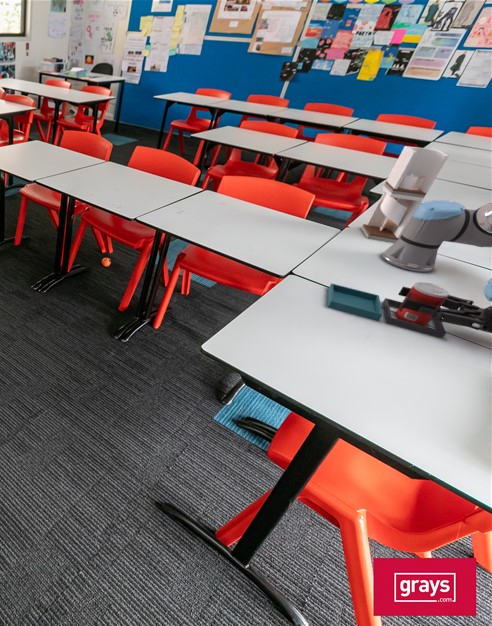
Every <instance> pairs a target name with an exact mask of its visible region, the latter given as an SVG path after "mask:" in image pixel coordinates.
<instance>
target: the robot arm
mask: <svg viewBox="0 0 492 626" xmlns="http://www.w3.org/2000/svg"><path fill="white" fill-rule="evenodd" d="M444 242H447V243H454V244H462V245H468V246H474V247H478V248H492V202H489V203H486V204H484V205H482V206H480V207H478V208H476V209H468V208H466V207H465V205H463V204H462V203H460V202H456V201H450V200H439V199H437V200H435V199H433V200H426V201H424V202H421V204H420V205H419V207H418V208H417V210H416V211H415V212H414V213H413V216H412V218H411V219H410V221H409V223H408V225H407V226H406V228H405V230H404V231H403V233H402V235H401V237H400V238H399V239H398V240H397V241H396V242H393V244H392V245H390V246H389V247H388V248H387V249H386V250H385V251H384V252H383V254H382V260H384V261H385V262H387V263H388V264H389V265H392V266H395V267H397V268H400V269H402V270H406V271H411V272H417V273H429V272H431V271H432V270H433V269H434V268H435V265H436V261H437V255H438V251H439V248H440V247H441V245H442V244H443V243H444ZM411 288H412V287H407V286H402V288H401V289H400V291H399V292H398V296H400V297H404V298H405V297H406V296H407V294H408V293H409V291H410V290H411ZM483 296H484V297H485V299H486V300H487V301H489V302H491V303H492V277H491V278H490V279H488V281H487V284H486V285H484V288H483ZM474 303H475V301H474V300H473V299H472V300H471V299H465V298H461V297H458V296H454V295H451V294H449V295H448V297H447V298H446V300H445V301H444V303H443V304H442V305H441V307H440V306H437V307H436V308H435V306H434V305H430V304H426V303H422V302H418V301H414V300H410V299H406V300H405V302H404V303H403V305H402V308H406V309H410V310H414V311H417V312H421V313H425V314H429V315H430V314H431V316H432V317H435V320H437V321H441V322H442V323H446V324H451V325H456V326H460V327H466V328H470V329H473V330H475V331H481V332H484V333H489V334H492V305H489V306H487V307H485V308H483V307H480V306H478V305H476V304H474ZM434 308H435V309H434Z"/></svg>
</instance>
